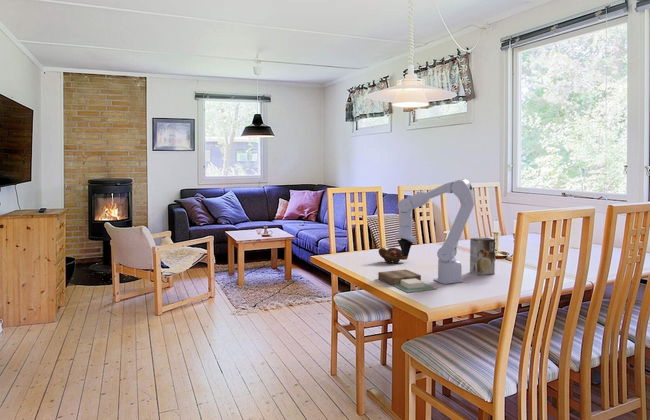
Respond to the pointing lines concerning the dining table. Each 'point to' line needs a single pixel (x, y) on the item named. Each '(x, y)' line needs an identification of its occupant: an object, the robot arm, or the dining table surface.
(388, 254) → the decorative turtle
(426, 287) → the rubber mat
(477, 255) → the coffee box
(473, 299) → the dining table surface
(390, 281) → the walnut step
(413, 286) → the coaster
